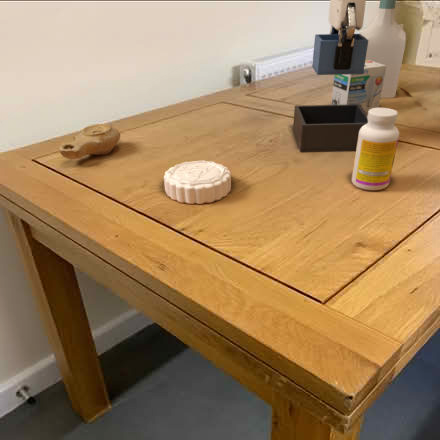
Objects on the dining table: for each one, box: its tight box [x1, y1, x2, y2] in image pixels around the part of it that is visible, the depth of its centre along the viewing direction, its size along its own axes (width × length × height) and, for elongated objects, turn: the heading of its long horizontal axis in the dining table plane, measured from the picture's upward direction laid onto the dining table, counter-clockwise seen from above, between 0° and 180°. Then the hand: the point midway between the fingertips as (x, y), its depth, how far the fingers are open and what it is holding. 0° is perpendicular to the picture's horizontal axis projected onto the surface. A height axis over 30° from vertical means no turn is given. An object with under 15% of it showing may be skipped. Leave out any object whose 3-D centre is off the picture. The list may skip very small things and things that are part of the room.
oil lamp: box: [58, 123, 121, 160], centre depth 98 cm, size 11×14×5 cm
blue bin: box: [311, 33, 368, 76], centre depth 93 cm, size 9×7×6 cm
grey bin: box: [292, 104, 368, 153], centre depth 101 cm, size 15×14×6 cm
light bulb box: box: [330, 60, 386, 114], centre depth 116 cm, size 11×7×11 cm, turn 114°
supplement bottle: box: [351, 107, 400, 191], centre depth 81 cm, size 7×7×13 cm
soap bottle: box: [359, 0, 407, 99], centre depth 121 cm, size 11×8×27 cm
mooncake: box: [163, 159, 232, 205], centre depth 84 cm, size 12×12×4 cm
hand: (337, 64), depth 94 cm, fingers closed on blue bin, 7 cm apart
